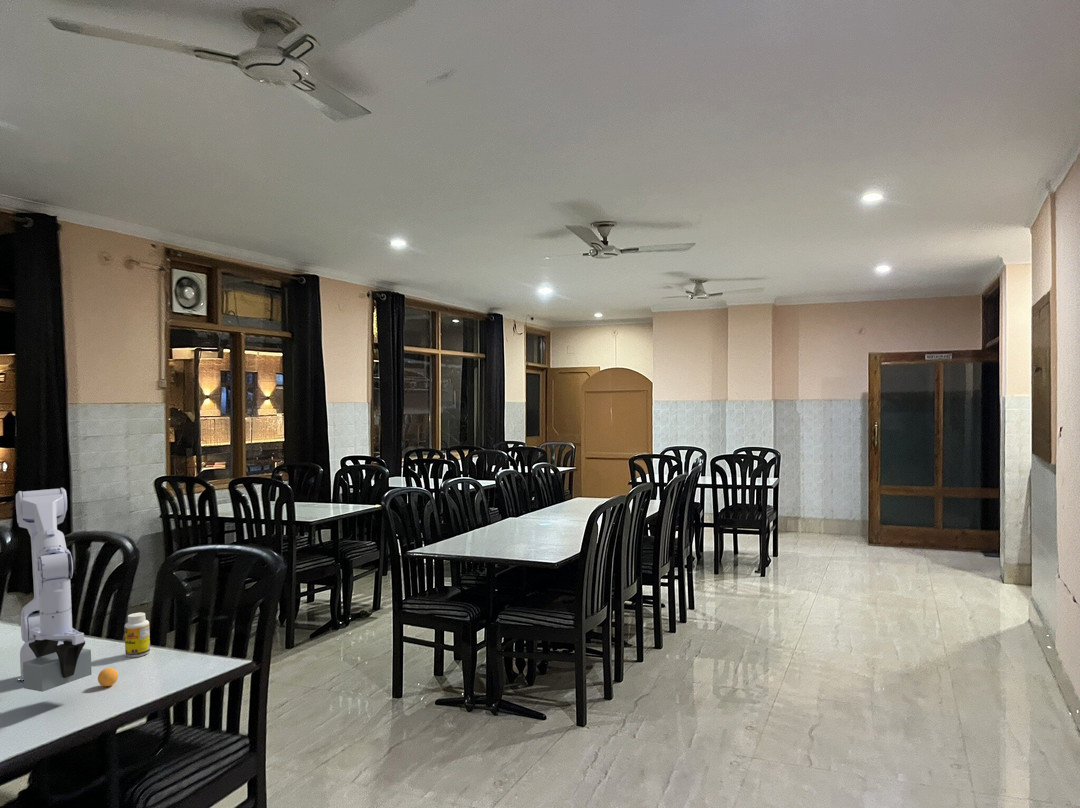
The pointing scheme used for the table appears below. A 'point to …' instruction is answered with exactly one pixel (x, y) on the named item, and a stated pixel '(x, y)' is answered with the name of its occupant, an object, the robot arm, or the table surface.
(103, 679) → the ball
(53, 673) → the grey rectangular block
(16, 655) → the table surface
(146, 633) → the supplement bottle
